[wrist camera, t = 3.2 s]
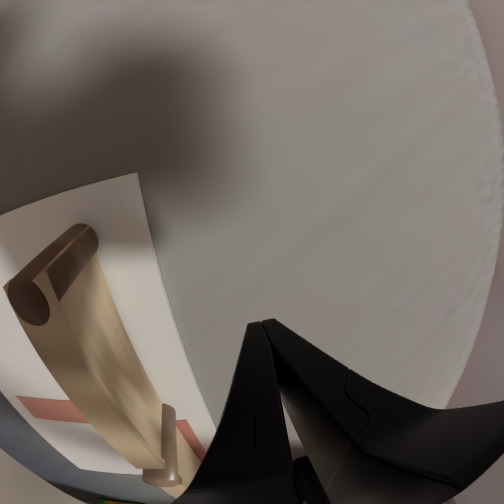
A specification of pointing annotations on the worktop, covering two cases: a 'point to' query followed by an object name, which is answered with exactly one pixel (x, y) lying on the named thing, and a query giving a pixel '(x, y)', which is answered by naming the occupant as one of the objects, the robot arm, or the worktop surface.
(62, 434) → the fence post and layout card
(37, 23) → the worktop surface
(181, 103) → the worktop surface
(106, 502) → the chalk box
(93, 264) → the folding fence panel
